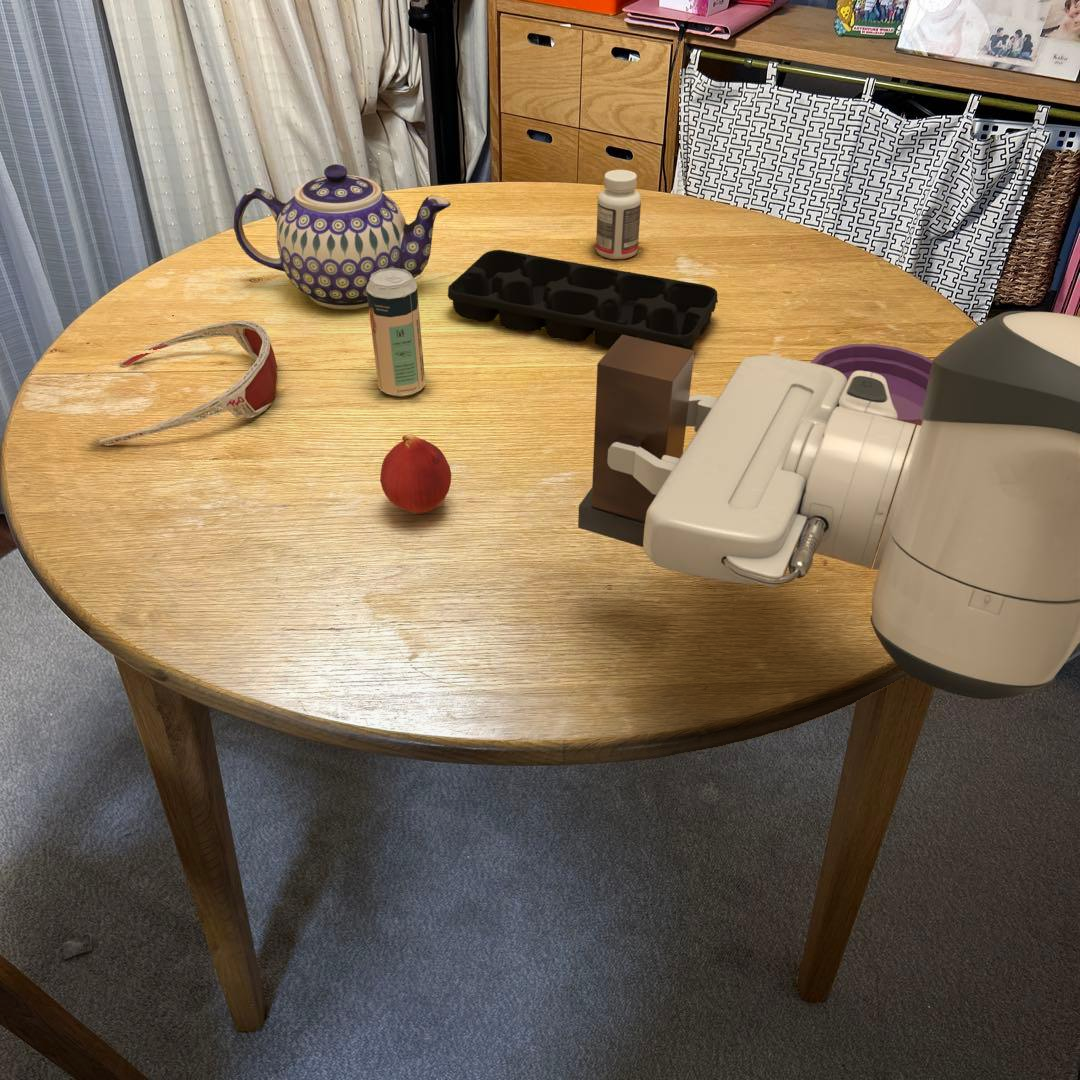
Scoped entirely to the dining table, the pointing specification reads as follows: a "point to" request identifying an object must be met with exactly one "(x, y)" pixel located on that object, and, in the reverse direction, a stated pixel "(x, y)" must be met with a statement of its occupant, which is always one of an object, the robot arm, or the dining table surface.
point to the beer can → (396, 331)
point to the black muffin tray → (581, 300)
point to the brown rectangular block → (634, 429)
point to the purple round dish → (886, 373)
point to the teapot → (342, 236)
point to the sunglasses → (247, 392)
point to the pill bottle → (618, 216)
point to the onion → (415, 475)
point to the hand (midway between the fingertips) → (627, 428)
